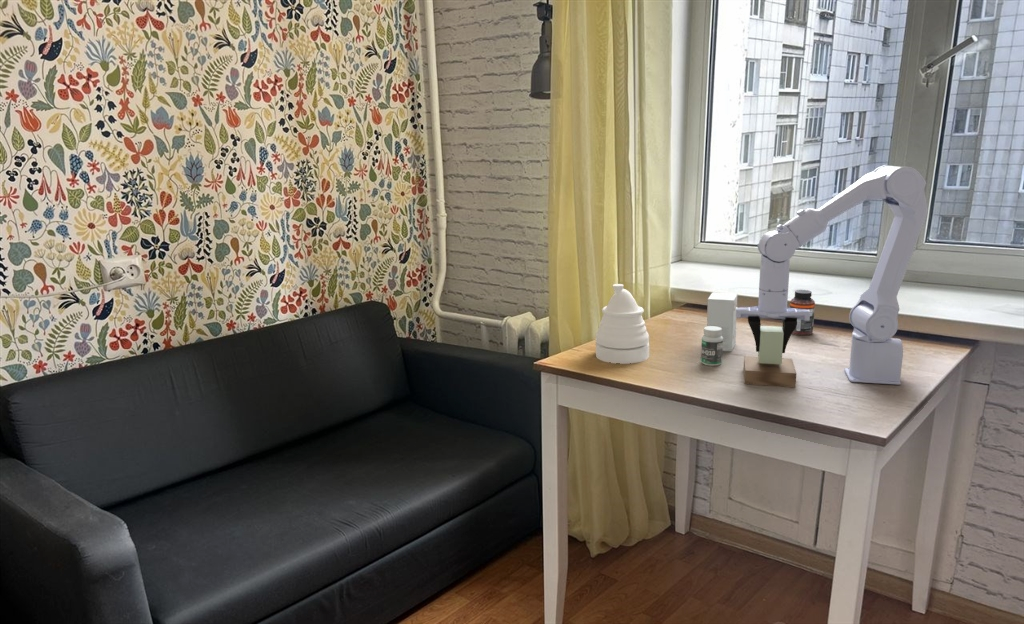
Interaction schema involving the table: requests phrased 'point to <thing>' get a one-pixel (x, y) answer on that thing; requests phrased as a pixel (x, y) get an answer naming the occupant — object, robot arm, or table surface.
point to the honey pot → (622, 330)
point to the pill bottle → (712, 346)
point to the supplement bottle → (803, 302)
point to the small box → (723, 316)
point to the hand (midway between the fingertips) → (770, 351)
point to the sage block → (771, 345)
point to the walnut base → (769, 372)
